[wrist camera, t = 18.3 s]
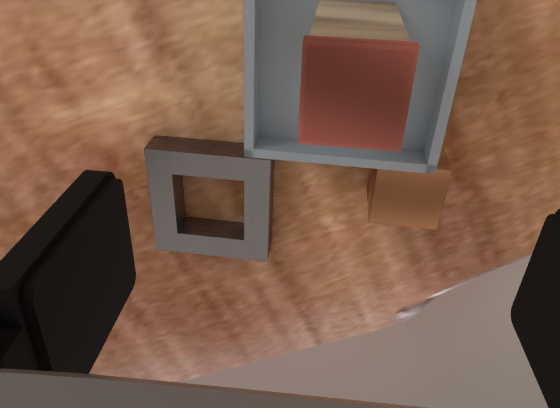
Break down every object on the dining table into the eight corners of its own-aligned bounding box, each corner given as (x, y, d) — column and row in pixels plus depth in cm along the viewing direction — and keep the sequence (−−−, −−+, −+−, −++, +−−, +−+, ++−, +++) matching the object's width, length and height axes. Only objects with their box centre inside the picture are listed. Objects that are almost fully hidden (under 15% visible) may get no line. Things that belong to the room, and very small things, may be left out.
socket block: (271, 244, 36) (267, 261, 35) (165, 232, 37) (156, 249, 35) (274, 146, 32) (270, 160, 30) (154, 135, 32) (144, 148, 31)
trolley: (420, 138, 30) (432, 184, 26) (259, 124, 31) (243, 166, 27) (469, -92, 24) (498, -87, 19) (263, -102, 25) (243, -100, 20)
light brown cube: (427, 194, 33) (436, 229, 29) (367, 188, 33) (368, 222, 30) (440, 139, 30) (452, 170, 27) (375, 133, 31) (378, 164, 27)
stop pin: (387, 80, 25) (400, 151, 18) (311, 75, 25) (297, 143, 18) (399, -1, 23) (419, 46, 16) (316, -5, 23) (303, 39, 16)
